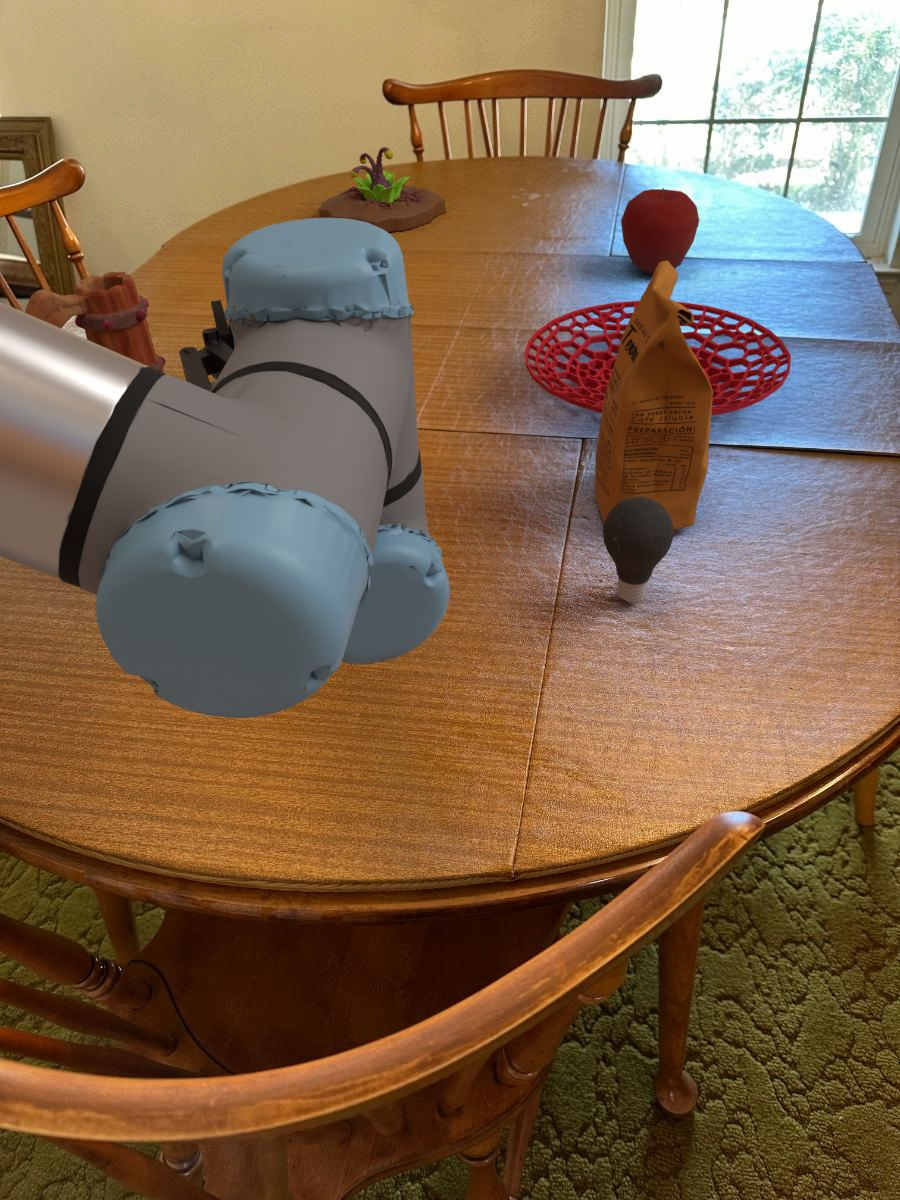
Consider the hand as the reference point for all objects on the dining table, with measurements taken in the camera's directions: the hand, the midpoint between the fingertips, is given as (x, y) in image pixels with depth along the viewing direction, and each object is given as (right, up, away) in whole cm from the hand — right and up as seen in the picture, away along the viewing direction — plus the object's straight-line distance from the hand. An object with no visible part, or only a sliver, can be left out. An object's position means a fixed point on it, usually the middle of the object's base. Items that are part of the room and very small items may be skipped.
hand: (263, 311), depth 72 cm
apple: (+45, +26, +66) cm, 83 cm away
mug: (-26, +2, +42) cm, 49 cm away
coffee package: (+33, -13, +20) cm, 41 cm away
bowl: (+38, +2, +37) cm, 53 cm away
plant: (+3, +45, +92) cm, 102 cm away
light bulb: (+30, -22, +8) cm, 38 cm away
